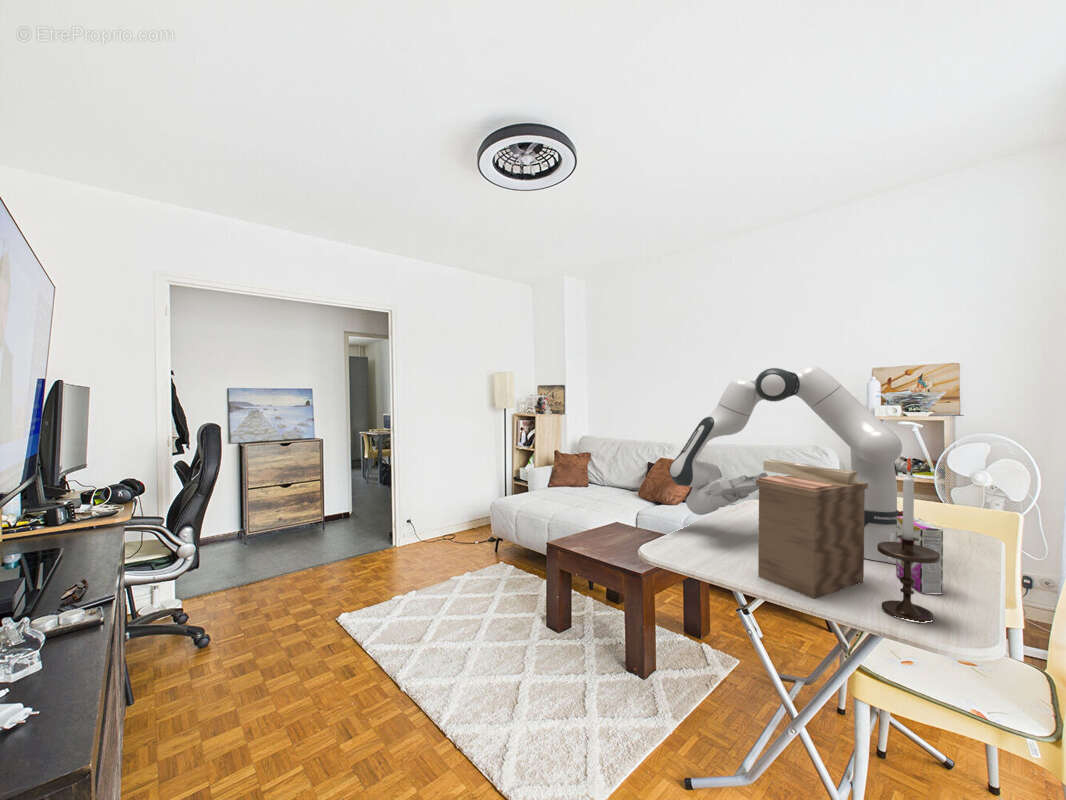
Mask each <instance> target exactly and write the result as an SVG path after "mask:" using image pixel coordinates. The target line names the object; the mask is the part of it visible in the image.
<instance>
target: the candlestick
mask: <svg viewBox="0 0 1066 800" xmlns="http://www.w3.org/2000/svg"><path fill="white" fill-rule="evenodd" d="M906 463H907V465H906V471H907V472H906V475H905V477H903V480H902V486H903V487H902V511H903V535H898V536H897V537H898V538H900V539H902V543H901V542H881V543H878V548H877V549H878V551H879V552H880V553H882V554H884V555H886V556H889V557H892V558H896V559H899V560H902V561H904V576H902V577H900V578H899V577H898V579H899V582H900V583H901V584H902V588H900V589H899V590H900V592H901V593H902V595H903V596H902V600H891V599H890V600H885V601H882V603H881V610H882V609H883V610H884V611H883V610H882V611H883V612H884V613H886V614H887V615H888V614H889V615H888V616H890V615H891V616H890V617H892V616H896V617H899V618H904V619H909V620H914V621H919V622H925V621H931V620H933V621H934V619H933V618H934V614H933V613H932V612H931V611H930V610H928V609H927V608H926V607H923V606H921V605H917V604H915V603H913V602H912V595H914V594H915V591H914V590H912V589H913V587H912V586H913V585H914V584H915V580H914V579H913V578H911V562H917V563H936V562H939V561H940V554H939V553H938V552H936V551H934V550H932V549H929V548H926V547H922V546H918V545H914V541H919V539H918V538H915V537H913V521H914V517H915V516H914V514H915V513H914V510H915V509H914V508H915V507H914V505H915V499H914V498H915V496H914V495H915V478H914V477H912V475H911V471H912V470H911V469H912V462H911V457H908V459H907V460H906Z"/></svg>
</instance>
